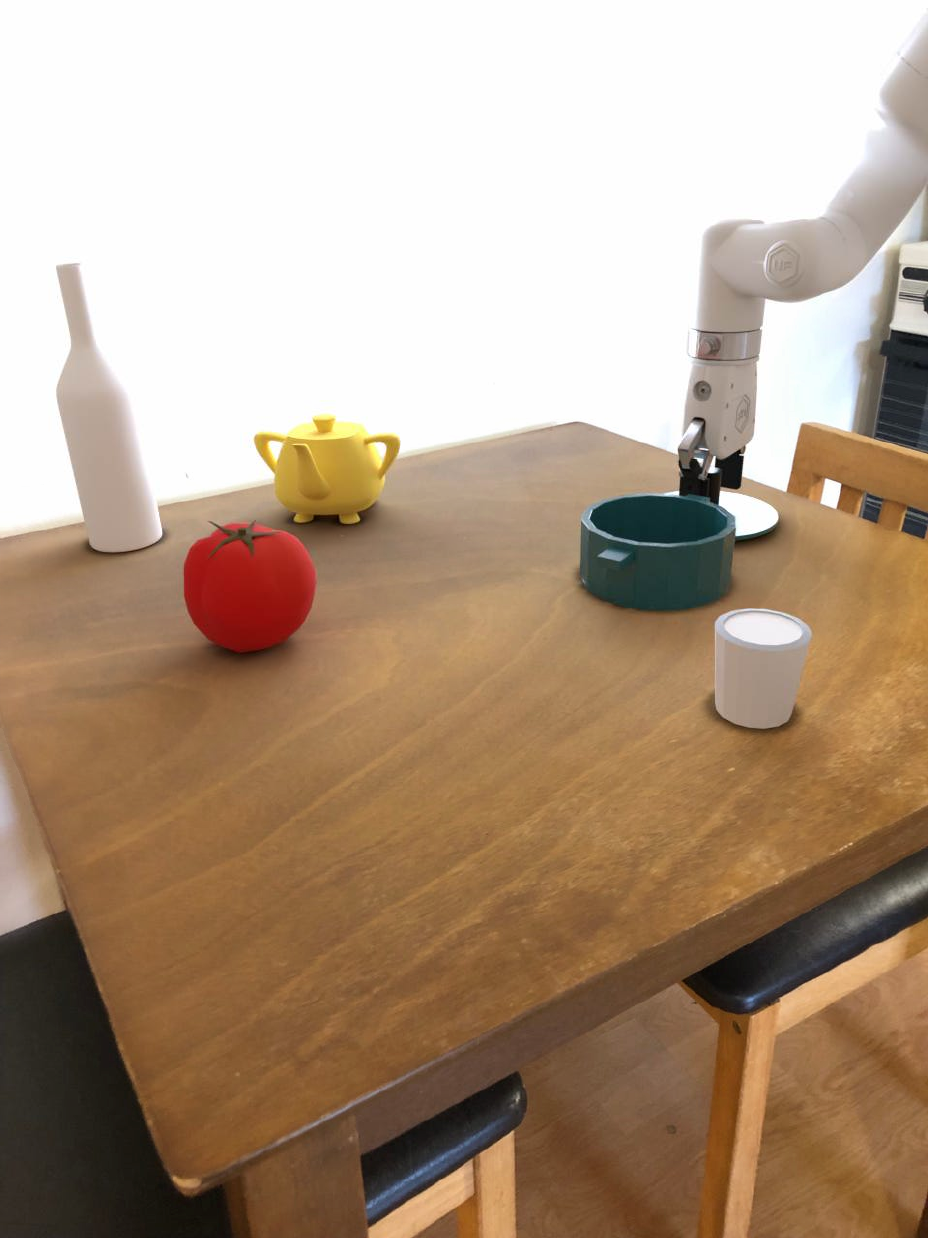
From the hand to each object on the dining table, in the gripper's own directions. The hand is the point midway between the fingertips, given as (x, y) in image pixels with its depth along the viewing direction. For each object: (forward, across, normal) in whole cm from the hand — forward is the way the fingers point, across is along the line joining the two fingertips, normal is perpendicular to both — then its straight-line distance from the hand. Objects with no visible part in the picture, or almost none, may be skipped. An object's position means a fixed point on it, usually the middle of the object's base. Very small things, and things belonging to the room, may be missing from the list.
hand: (710, 499), depth 106 cm
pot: (+3, -18, -2) cm, 18 cm away
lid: (+2, 0, 0) cm, 2 cm away
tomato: (+3, -49, +22) cm, 54 cm away
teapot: (+3, -22, +39) cm, 45 cm away
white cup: (+3, -36, -19) cm, 41 cm away
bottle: (+3, -40, +54) cm, 67 cm away
